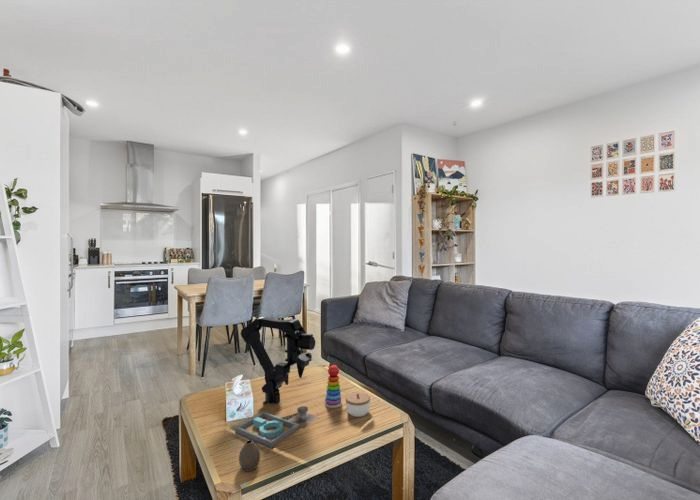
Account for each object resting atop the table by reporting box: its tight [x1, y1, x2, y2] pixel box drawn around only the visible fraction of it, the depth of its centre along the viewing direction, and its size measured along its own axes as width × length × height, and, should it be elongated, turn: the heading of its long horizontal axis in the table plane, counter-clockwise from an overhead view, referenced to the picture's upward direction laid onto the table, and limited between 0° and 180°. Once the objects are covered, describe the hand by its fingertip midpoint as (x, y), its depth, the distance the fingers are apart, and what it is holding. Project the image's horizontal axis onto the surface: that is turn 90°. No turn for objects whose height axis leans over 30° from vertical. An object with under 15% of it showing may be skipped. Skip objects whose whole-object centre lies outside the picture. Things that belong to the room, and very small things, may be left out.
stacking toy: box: [324, 364, 343, 409], centre depth 158 cm, size 8×8×19 cm
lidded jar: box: [345, 391, 371, 418], centre depth 150 cm, size 11×11×9 cm
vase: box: [238, 439, 261, 472], centre depth 116 cm, size 7×7×9 cm
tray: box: [234, 411, 300, 450], centre depth 137 cm, size 20×15×2 cm
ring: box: [252, 417, 284, 439], centre depth 137 cm, size 14×9×3 cm, turn 57°
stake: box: [288, 405, 320, 429], centre depth 145 cm, size 10×10×6 cm
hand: (293, 381), depth 158 cm, fingers open, 9 cm apart
